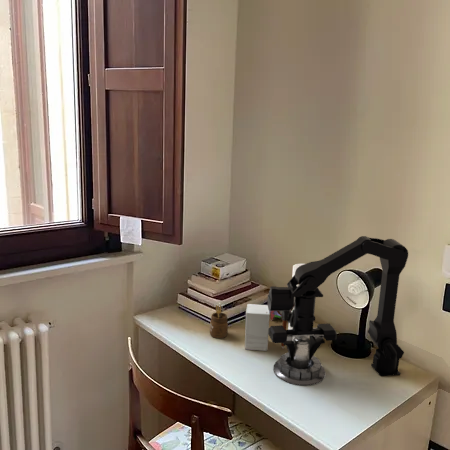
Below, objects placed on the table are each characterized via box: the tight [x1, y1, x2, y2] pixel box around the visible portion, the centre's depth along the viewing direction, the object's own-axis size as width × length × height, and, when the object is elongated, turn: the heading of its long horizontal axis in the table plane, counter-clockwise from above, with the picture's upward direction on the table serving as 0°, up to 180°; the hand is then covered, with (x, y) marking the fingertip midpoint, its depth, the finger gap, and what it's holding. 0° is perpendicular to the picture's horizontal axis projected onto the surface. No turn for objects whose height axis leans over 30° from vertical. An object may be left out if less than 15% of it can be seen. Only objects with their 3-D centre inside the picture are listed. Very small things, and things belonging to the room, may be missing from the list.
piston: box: [291, 336, 311, 369], centre depth 149 cm, size 5×5×9 cm
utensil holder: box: [209, 301, 229, 339], centre depth 169 cm, size 6×6×12 cm
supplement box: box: [244, 303, 271, 352], centre depth 163 cm, size 7×7×13 cm
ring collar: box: [272, 351, 326, 387], centre depth 150 cm, size 15×15×3 cm
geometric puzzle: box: [266, 303, 282, 321], centre depth 184 cm, size 7×7×8 cm
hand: (300, 359), depth 149 cm, fingers closed on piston, 5 cm apart
